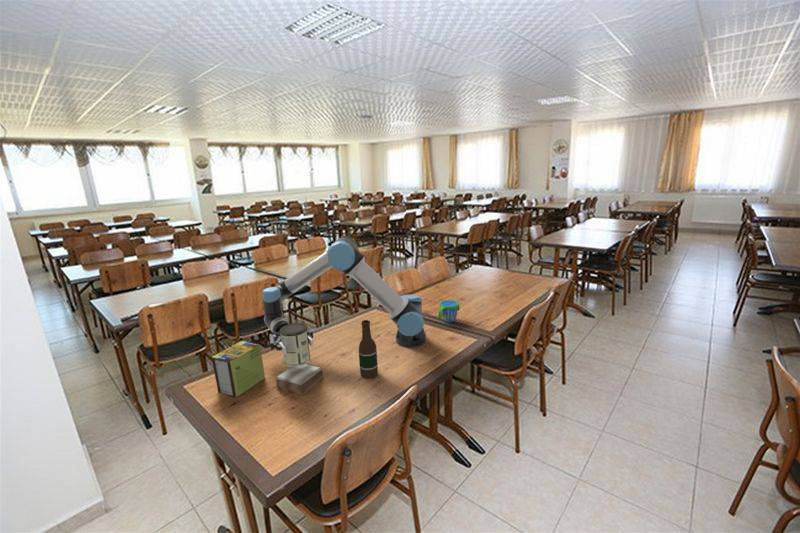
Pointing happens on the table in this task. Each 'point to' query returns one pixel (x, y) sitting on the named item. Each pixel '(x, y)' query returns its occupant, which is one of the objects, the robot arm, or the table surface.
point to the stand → (299, 379)
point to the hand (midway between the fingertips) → (299, 347)
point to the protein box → (238, 368)
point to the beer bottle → (367, 353)
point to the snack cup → (448, 310)
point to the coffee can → (295, 344)
